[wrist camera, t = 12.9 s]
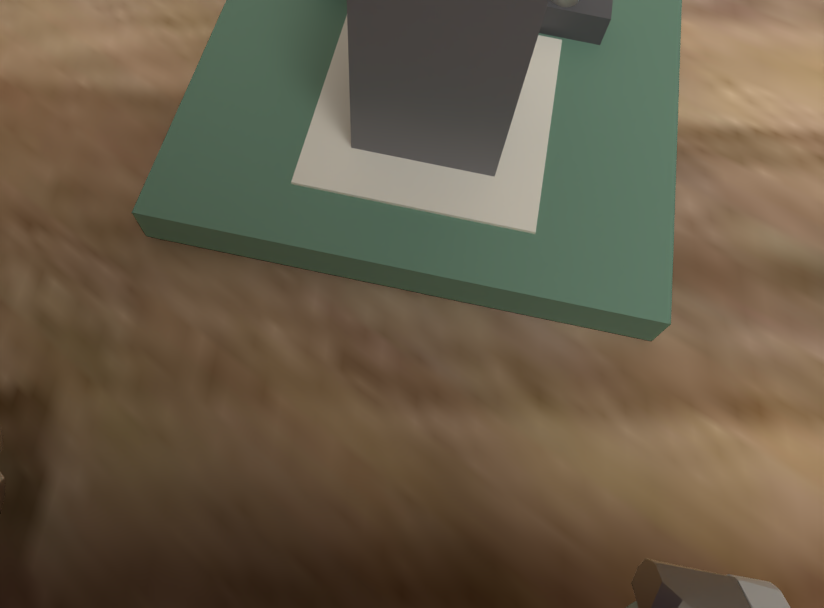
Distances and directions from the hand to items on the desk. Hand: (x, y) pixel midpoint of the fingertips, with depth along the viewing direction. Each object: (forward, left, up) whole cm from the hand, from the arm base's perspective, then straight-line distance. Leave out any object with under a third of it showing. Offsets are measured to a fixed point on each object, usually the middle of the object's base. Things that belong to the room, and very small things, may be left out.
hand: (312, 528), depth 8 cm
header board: (0, +13, -7) cm, 15 cm away
